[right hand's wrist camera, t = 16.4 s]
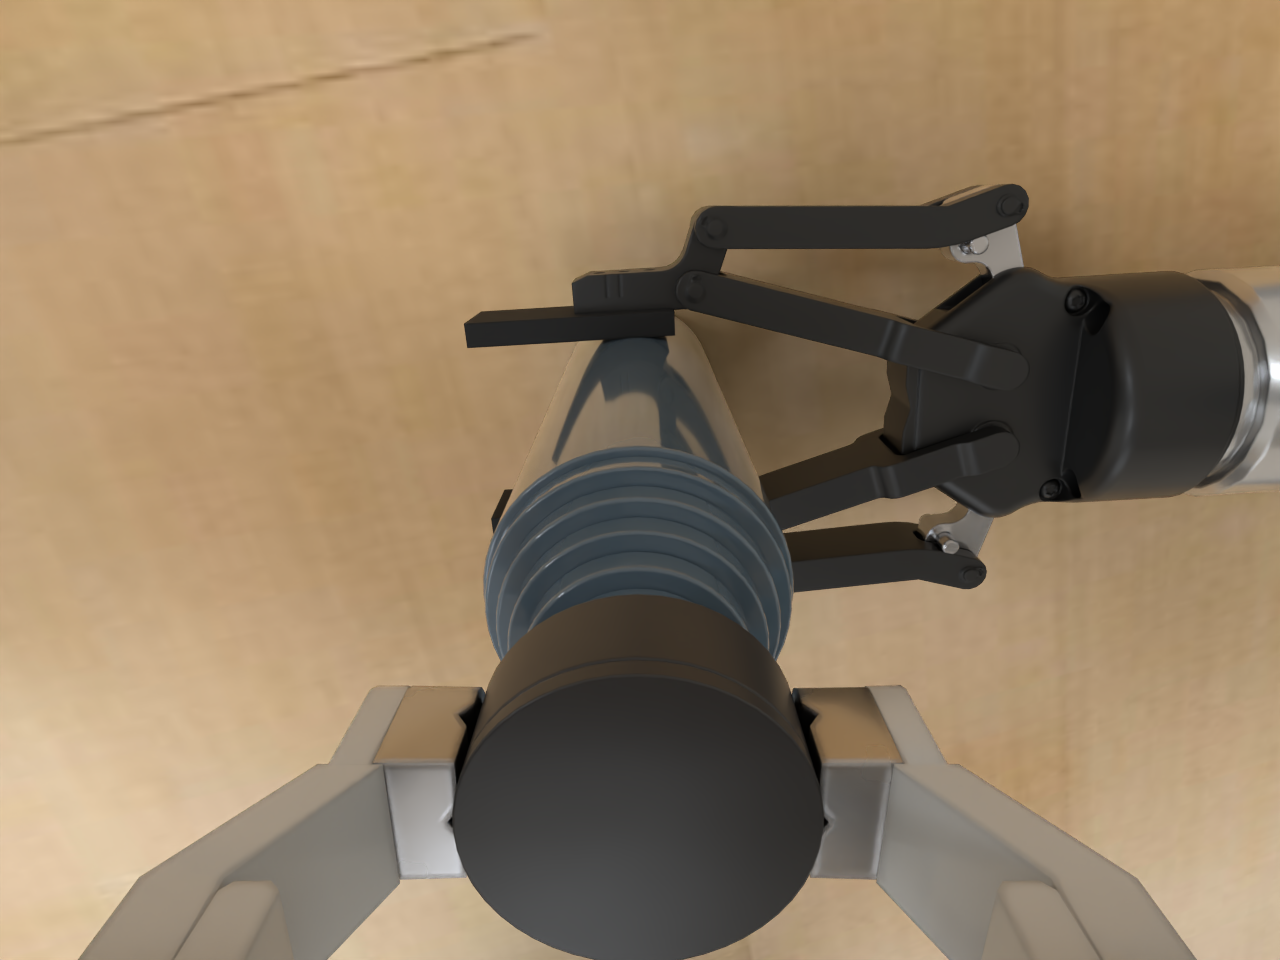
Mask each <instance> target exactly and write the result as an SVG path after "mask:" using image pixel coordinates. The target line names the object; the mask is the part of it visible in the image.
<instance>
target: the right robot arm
mask: <svg viewBox="0 0 1280 960" xmlns="http://www.w3.org/2000/svg"><path fill="white" fill-rule="evenodd" d="M484 697H485V692H484V690H483V688H482V687H446V686H412V687H410V686H376V687H374V688H372V689H371V690H370V691H369V692H368V694H367V696H366V697H365V699H364V701H363V703H362V705H361V706H360V708H359V710H358V712H357V714H356V715H355V717H354V719H353V721H352V722H351V724H350V726H349V728H348V730H347V731H346V733H345V735H344V737H343V739H342V740H341V742H340V744H339V746H338V748H337V749H336V751H335V753H334V755H333V757H332V758H331V760H330V762H329V764H317V765H315V766H314V767H312V768H311V769H309V770H307V771H306V772H304V773H303V774H301V775H300V776H298V777H296V778H295V779H293V780H292V781H290V782H289V783H287V784H285V785H284V786H282V787H281V788H279V789H278V790H276V791H274V792H273V793H271V794H270V795H268V796H267V797H265V798H263V799H262V800H260V801H259V802H257V803H256V804H254V805H252V806H251V807H249V808H248V809H246V810H245V811H243V812H241V813H240V814H238V815H237V816H235V817H233V818H232V819H230V820H229V821H227V822H226V823H224V824H222V825H221V826H219V827H218V828H216V829H215V830H213V831H211V832H210V833H208V834H207V835H205V836H204V837H202V838H200V839H199V840H197V841H196V842H194V843H193V844H191V845H189V846H188V847H186V848H185V849H183V850H182V851H180V852H178V853H177V854H175V855H174V856H172V857H170V858H169V859H167V860H166V861H164V862H163V863H161V864H159V865H158V866H156V867H155V868H153V869H152V870H150V871H148V872H147V873H145V874H144V875H142V876H141V877H139V878H138V880H137V881H136V882H135V884H134V885H133V886H132V888H131V889H130V890H129V892H128V893H127V894H126V896H125V897H124V898H123V900H122V901H121V902H120V904H119V905H118V907H117V908H116V909H115V911H114V912H113V913H112V915H111V916H110V917H109V919H108V920H107V921H106V923H105V924H104V925H103V927H102V928H101V929H100V931H99V932H98V933H97V935H96V936H95V937H94V939H93V940H92V941H91V943H90V944H89V945H88V947H87V948H86V949H85V951H84V952H83V954H82V955H81V956H80V958H79V959H78V960H327V959H328V958H329V957H330V956H331V955H332V954H333V953H334V952H335V951H336V950H337V949H338V948H339V947H340V946H341V945H342V944H343V943H344V941H345V940H346V939H347V938H348V937H349V936H350V935H351V934H352V933H353V932H354V931H355V930H356V929H357V928H358V927H359V926H360V925H361V924H362V923H363V922H364V920H365V919H366V918H367V917H368V916H369V915H370V914H371V913H372V912H373V911H374V910H375V909H376V908H377V907H378V906H379V905H380V904H381V903H382V902H383V901H384V899H385V898H386V897H387V896H388V895H389V894H390V893H391V892H392V891H393V890H394V889H395V888H396V887H397V886H398V885H399V884H400V881H399V879H433V878H466V877H467V874H466V872H465V870H464V868H463V866H462V863H461V860H460V858H459V855H458V852H457V849H456V844H455V839H454V834H453V822H452V809H453V802H454V795H455V790H456V787H457V784H458V781H459V777H460V774H461V771H462V768H463V765H464V761H465V758H466V755H467V752H468V749H469V745H470V742H471V739H472V736H473V733H474V729H475V726H476V723H477V720H478V717H479V713H480V710H481V707H482V704H483V701H484ZM792 698H793V701H794V704H795V707H796V711H797V714H798V717H799V720H800V724H801V727H802V730H803V734H804V737H805V740H806V743H807V747H808V750H809V753H810V756H811V760H812V763H813V766H814V770H815V773H816V776H817V779H818V783H819V786H820V789H821V793H822V800H823V807H824V830H823V836H822V841H821V846H820V850H819V853H818V856H817V859H816V861H815V864H814V867H813V869H812V871H811V873H810V878H842V879H877V882H876V883H877V884H878V885H879V886H880V887H881V888H882V889H883V890H884V891H885V892H886V893H887V894H888V895H889V897H890V898H891V899H892V900H893V901H894V902H895V903H896V904H897V905H898V906H899V907H900V908H901V909H902V910H903V911H904V912H905V913H906V915H907V916H908V917H909V918H910V919H911V920H912V921H913V922H914V923H915V924H916V925H917V926H918V927H919V928H920V929H921V930H922V931H923V933H924V934H925V935H926V936H927V937H928V938H929V939H930V940H931V941H932V942H933V943H934V944H935V945H936V946H937V947H938V948H939V949H940V951H941V952H942V953H943V954H944V955H945V956H946V957H947V958H948V959H949V960H1197V959H1196V958H1195V957H1194V955H1193V954H1192V952H1191V951H1190V950H1189V948H1188V947H1187V946H1186V944H1185V943H1184V942H1183V940H1182V939H1181V937H1180V936H1179V935H1178V933H1177V932H1176V931H1175V929H1174V928H1173V926H1172V925H1171V924H1170V922H1169V921H1168V920H1167V918H1166V917H1165V916H1164V914H1163V913H1162V911H1161V910H1160V909H1159V907H1158V906H1157V905H1156V903H1155V902H1154V901H1153V899H1152V898H1151V896H1150V895H1149V894H1148V892H1147V891H1146V890H1145V888H1144V887H1143V886H1142V884H1141V883H1140V881H1139V880H1138V879H1137V878H1136V877H1134V876H1133V875H1131V874H1129V873H1128V872H1126V871H1125V870H1123V869H1122V868H1120V867H1119V866H1117V865H1115V864H1114V863H1112V862H1111V861H1109V860H1108V859H1106V858H1104V857H1103V856H1101V855H1100V854H1098V853H1097V852H1095V851H1094V850H1092V849H1090V848H1089V847H1087V846H1086V845H1084V844H1083V843H1081V842H1079V841H1078V840H1076V839H1075V838H1073V837H1072V836H1070V835H1069V834H1067V833H1065V832H1064V831H1062V830H1061V829H1059V828H1058V827H1056V826H1054V825H1053V824H1051V823H1050V822H1048V821H1047V820H1045V819H1044V818H1042V817H1040V816H1039V815H1037V814H1036V813H1034V812H1033V811H1031V810H1029V809H1028V808H1026V807H1025V806H1023V805H1022V804H1020V803H1019V802H1017V801H1015V800H1014V799H1012V798H1011V797H1009V796H1008V795H1006V794H1004V793H1003V792H1001V791H1000V790H998V789H997V788H995V787H994V786H992V785H990V784H989V783H987V782H986V781H984V780H983V779H981V778H980V777H978V776H976V775H975V774H973V773H972V772H970V771H969V770H967V769H965V768H964V767H962V766H961V765H959V764H948V763H947V762H946V760H945V758H944V756H943V754H942V753H941V751H940V749H939V747H938V745H937V744H936V742H935V740H934V738H933V737H932V735H931V733H930V731H929V729H928V728H927V726H926V724H925V722H924V720H923V719H922V717H921V715H920V713H919V711H918V710H917V708H916V706H915V704H914V702H913V701H912V699H911V697H910V695H909V693H908V692H907V690H906V689H905V688H904V687H902V686H901V685H891V686H865V687H848V688H793V692H792Z"/></svg>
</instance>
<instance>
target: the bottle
mask: <svg viewBox="0 0 1280 960" xmlns="http://www.w3.org/2000/svg"><path fill="white" fill-rule="evenodd" d="M483 588H484V600H485V613H486V619H487V625H488V630H489V633H490V636H491V640H492V643H493V646H494V648H495V650H496V652H497V654H498V656H499V658H500V660H501V661H502V659H503V658H504V656H505V655H506V654H507V652H508V651H509V650H510V649H511V648H512V647H513V646H514V645H515V644H516V643H517V642H518V640H519V639H520V638H521V637H523V636H524V635H525V634H526V633H528V632H529V631H530V630H531V629H533V628H534V627H535V626H536V625H538V624H540V623H541V622H543V621H545V620H546V619H548V618H550V617H551V616H553V615H555V614H557V613H559V612H561V611H563V610H566V609H568V608H570V607H572V606H575V605H578V604H581V603H585V602H588V601H591V600H594V599H600V598H605V597H611V596H618V595H634V594H642V595H660V596H666V597H671V598H677V599H682V600H685V601H689V602H692V603H695V604H699V605H702V606H704V607H707V608H709V609H711V610H713V611H716V612H718V613H720V614H722V615H724V616H725V617H727V618H729V619H730V620H732V621H734V622H736V623H737V624H739V625H740V626H742V627H743V628H744V629H745V630H747V631H748V632H749V633H750V634H752V635H753V636H754V637H755V638H756V639H757V640H758V641H759V642H760V643H761V644H762V645H763V646H764V647H765V648H766V649H767V650H768V651H769V653H770V654H771V655H772V657H773V658H774V660H775V661H776V660H777V658H778V656H779V654H780V652H781V649H782V647H783V645H784V643H785V639H786V636H787V633H788V629H789V625H790V618H791V611H792V599H793V568H792V561H791V555H790V552H789V549H788V546H787V542H786V539H785V537H784V534H783V532H782V530H781V527H780V525H779V523H778V520H777V518H776V516H775V513H774V511H773V509H772V506H771V504H770V502H769V500H768V497H767V495H766V493H765V490H764V488H763V486H762V483H761V481H760V479H759V476H758V474H757V472H756V469H755V467H754V465H753V463H752V460H751V458H750V456H749V453H748V451H747V449H746V446H745V444H744V442H743V439H742V437H741V435H740V432H739V430H738V428H737V426H736V423H735V421H734V419H733V416H732V414H731V412H730V409H729V407H728V405H727V402H726V400H725V398H724V395H723V393H722V391H721V389H720V386H719V384H718V382H717V379H716V377H715V375H714V372H713V370H712V368H711V365H710V363H709V361H708V358H707V356H706V354H705V352H704V349H703V347H702V345H701V343H700V341H699V340H698V338H697V337H696V335H695V334H694V332H693V331H692V330H691V329H690V328H689V327H688V326H687V325H686V324H685V323H684V322H683V321H681V320H680V319H678V318H677V317H675V336H660V337H643V338H626V339H610V340H593V341H578V342H577V344H576V346H575V348H574V351H573V353H572V355H571V357H570V360H569V362H568V364H567V367H566V369H565V371H564V373H563V376H562V378H561V380H560V383H559V385H558V387H557V390H556V392H555V394H554V396H553V399H552V401H551V403H550V406H549V408H548V410H547V413H546V415H545V417H544V419H543V422H542V424H541V426H540V429H539V431H538V433H537V435H536V438H535V440H534V442H533V445H532V447H531V449H530V452H529V454H528V456H527V458H526V461H525V463H524V465H523V468H522V470H521V472H520V475H519V477H518V479H517V481H516V484H515V486H514V488H513V491H512V493H511V495H510V498H509V500H508V502H507V504H506V507H505V509H504V511H503V514H502V516H501V518H500V520H499V523H498V525H497V527H496V530H495V532H494V534H493V537H492V539H491V541H490V545H489V548H488V552H487V555H486V560H485V567H484V575H483Z"/></svg>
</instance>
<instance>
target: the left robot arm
mask: <svg viewBox="0 0 1280 960" xmlns="http://www.w3.org/2000/svg"><path fill="white" fill-rule="evenodd" d="M1028 207H1029V198H1028V195H1027V193H1026V191H1025V190H1024V189H1023V188H1022V187H1021V186H1019V185H1015V184H1001V185H1000V184H997V185H977V186H971V187H968V188H966V189H963V190H960V191H957V192H955V193H952V194H949V195H947V196H944V197H941V198H939V199H936V200H933V201H931V202H928V203H925V204H923V205H920V206H706V207H701V208H700V209H699V210H697V211H696V212H695V213H694V215H693V216H692V218H691V222H690V228H689V231H688V234H687V238H686V241H685V244H684V247H683V250H682V252H681V255H680V256H679V257H678V259H677V260H676V261H675V262H673V263H672V264H670V265H668V266H665V267H657V268H641V269H624V270H609V271H592V272H588V273H586V274H584V275H582V276H580V277H578V278H576V279H575V280H574V281H573V282H572V291H573V303H574V306H566V307H550V308H533V309H517V310H500V311H484V312H480V313H479V314H477V315H476V316H474V317H473V318H472V319H470V320H469V321H467V322H466V323H464V327H465V334H466V341H467V348H476V347H493V346H509V345H526V344H543V343H560V342H576V341H593V340H610V339H626V338H643V337H660V336H675V316H674V310H678V309H689V310H691V311H695V312H699V313H703V314H707V315H712V316H716V317H720V318H724V319H728V320H732V321H736V322H740V323H744V324H748V325H752V326H756V327H760V328H764V329H768V330H772V331H776V332H780V333H784V334H788V335H792V336H796V337H800V338H804V339H808V340H812V341H817V342H821V343H825V344H829V345H833V346H837V347H841V348H845V349H849V350H853V351H857V352H861V353H865V354H869V355H873V356H877V357H880V358H883V359H885V360H887V376H888V380H889V385H890V389H891V397H890V400H889V404H888V407H887V410H886V413H885V416H884V428H882V429H879V430H876V431H873V432H871V433H868V434H865V435H863V436H860V437H859V438H857V439H856V441H855V442H854V443H853V444H851V445H848V446H846V447H843V448H840V449H837V450H834V451H831V452H828V453H825V454H822V455H819V456H816V457H814V458H811V459H808V460H805V461H802V462H799V463H796V464H793V465H790V466H787V467H785V468H782V469H779V470H776V471H773V472H770V473H767V474H764V475H761V476H759V479H760V481H761V483H762V486H763V488H764V490H765V493H766V495H767V497H768V500H769V502H770V504H771V506H772V509H773V511H774V513H775V516H776V518H777V520H778V523H779V525H780V527H781V530H784V529H787V528H790V527H793V526H796V525H799V524H802V523H805V522H808V521H811V520H814V519H817V518H820V517H823V516H826V515H829V514H832V513H835V512H838V511H841V510H844V509H847V508H850V507H853V506H856V505H859V504H862V503H865V502H868V501H871V500H874V499H877V498H890V499H894V498H901V497H904V496H907V495H910V494H913V493H916V492H919V491H922V490H925V489H928V488H931V487H935V488H937V489H938V490H940V491H941V492H943V493H944V494H946V495H947V496H949V497H950V498H952V499H954V500H955V501H957V502H958V503H957V504H956V506H955V507H954V508H953V509H952V510H950V511H949V512H946V513H943V514H925V515H923V516H921V518H920V519H919V524H915V523H909V522H884V523H874V524H865V525H856V526H847V527H837V528H828V529H819V530H809V531H800V532H791V533H783V534H784V537H785V539H786V542H787V546H788V549H789V552H790V555H791V561H792V568H793V592H802V591H811V590H821V589H831V588H840V587H850V586H859V585H869V584H878V583H888V582H898V581H907V580H917V579H920V580H924V581H929V582H933V583H938V584H943V585H947V586H952V587H957V588H961V589H971V588H975V587H977V586H978V585H980V584H981V583H982V582H983V580H984V579H985V577H986V573H987V571H986V567H985V565H984V564H983V563H982V562H981V561H980V560H979V558H978V557H977V556H978V553H979V551H980V549H981V547H982V544H983V542H984V540H985V537H986V535H987V533H988V530H989V528H990V526H991V523H992V521H993V519H994V518H997V517H1002V516H1006V515H1009V514H1011V513H1013V512H1015V511H1016V510H1018V509H1020V508H1022V507H1024V506H1027V505H1030V504H1033V503H1036V502H1094V501H1111V500H1128V499H1146V498H1163V497H1172V496H1176V495H1180V494H1182V493H1183V494H1187V495H1192V496H1208V495H1224V494H1239V493H1255V492H1271V491H1280V266H1262V267H1242V268H1223V269H1203V270H1194V271H1191V272H1189V273H1186V274H1183V273H1179V272H1174V271H1160V272H1144V273H1128V274H1111V275H1095V276H1079V277H1062V278H1051V277H1048V276H1046V275H1044V274H1043V273H1041V272H1039V271H1037V270H1035V269H1033V268H1029V267H1024V265H1023V259H1022V254H1021V248H1020V243H1019V237H1018V232H1017V226H1016V223H1018V222H1020V220H1021V219H1022V218H1023V217H1024V216H1025V214H1026V212H1027V209H1028ZM928 248H940V251H941V253H942V255H943V256H944V257H945V258H947V259H948V260H951V261H956V262H961V263H974V264H975V265H976V266H977V267H978V269H979V271H980V274H979V275H978V276H977V277H975V278H974V279H973V280H971V281H970V282H969V283H967V284H966V285H965V286H963V287H962V288H961V289H960V290H958V291H957V292H956V293H954V294H953V295H952V296H950V297H949V298H948V299H946V300H945V301H944V302H942V303H941V304H940V305H938V306H937V307H936V308H934V309H933V310H932V311H930V312H929V313H928V314H926V315H925V316H924V317H922V318H921V319H920V320H915V319H911V318H907V317H903V316H899V315H895V314H891V313H887V312H883V311H879V310H874V309H868V308H864V307H860V306H856V305H852V304H848V303H844V302H840V301H836V300H832V299H828V298H824V297H820V296H816V295H812V294H808V293H804V292H800V291H796V290H792V289H789V288H785V287H781V286H777V285H773V284H769V283H765V282H761V281H757V280H753V279H749V278H745V277H741V276H737V275H733V274H729V273H725V272H721V271H720V270H721V267H722V263H723V260H724V257H725V254H726V251H727V249H928ZM512 491H513V489H510V490H504V492H503V494H502V497H501V499H500V501H499V503H498V505H497V507H496V510H495V512H494V514H493V516H492V518H491V520H492V527H493V534H494V532H495V530H496V527H497V525H498V523H499V520H500V518H501V516H502V514H503V511H504V509H505V507H506V504H507V502H508V500H509V498H510V495H511V493H512Z"/></svg>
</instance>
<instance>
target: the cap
mask: <svg viewBox="0 0 1280 960" xmlns="http://www.w3.org/2000/svg"><path fill="white" fill-rule="evenodd" d="M452 822H453V834H454V839H455V844H456V849H457V852H458V855H459V858H460V860H461V863H462V866H463V868H464V870H465V872H466V874H467V875H468V877H469V879H470V881H471V883H472V884H473V886H474V887H475V889H476V890H477V891H478V892H479V894H480V895H481V896H482V898H483V899H484V900H485V901H486V902H487V903H488V904H489V905H490V906H491V907H492V908H493V909H494V910H495V911H496V912H497V913H498V914H499V915H500V916H501V917H502V918H504V919H505V920H506V921H508V922H509V923H510V924H511V925H513V926H514V927H515V928H517V929H519V930H520V931H522V932H524V933H525V934H527V935H529V936H530V937H532V938H534V939H536V940H538V941H540V942H542V943H544V944H546V945H549V946H551V947H553V948H556V949H559V950H562V951H565V952H567V953H570V954H573V955H577V956H582V957H586V958H590V959H594V960H683V959H687V958H691V957H695V956H699V955H703V954H707V953H709V952H712V951H715V950H718V949H721V948H724V947H726V946H728V945H730V944H732V943H735V942H737V941H739V940H741V939H743V938H745V937H747V936H748V935H750V934H751V933H753V932H755V931H756V930H758V929H760V928H761V927H763V926H764V925H765V924H766V923H768V922H769V921H770V920H772V919H773V918H774V917H775V916H777V915H778V914H779V913H780V912H781V911H782V910H783V909H784V908H785V907H786V906H787V905H788V904H789V903H790V902H791V901H792V900H793V898H794V897H795V896H796V894H797V893H798V892H799V890H800V889H801V888H802V886H803V885H804V884H805V882H806V880H807V878H808V876H809V874H810V873H811V871H812V869H813V867H814V864H815V861H816V859H817V856H818V853H819V850H820V846H821V841H822V836H823V830H824V807H823V800H822V793H821V789H820V786H819V783H818V779H817V776H816V773H815V770H814V766H813V763H812V760H811V756H810V753H809V750H808V747H807V743H806V740H805V737H804V734H803V730H802V727H801V724H800V720H799V717H798V714H797V711H796V707H795V704H794V701H793V698H792V695H791V692H790V688H789V685H788V682H787V680H786V678H785V676H784V674H783V673H782V671H781V669H780V667H779V665H778V664H777V662H776V661H775V660H774V658H773V657H772V655H771V654H770V653H769V651H768V650H767V649H766V648H765V647H764V646H763V645H762V644H761V643H760V642H759V641H758V640H757V639H756V638H755V637H754V636H753V635H752V634H750V633H749V632H748V631H747V630H745V629H744V628H743V627H742V626H740V625H739V624H737V623H736V622H734V621H732V620H730V619H729V618H727V617H725V616H724V615H722V614H720V613H718V612H716V611H713V610H711V609H709V608H707V607H704V606H702V605H699V604H695V603H692V602H689V601H685V600H682V599H677V598H671V597H666V596H660V595H642V594H634V595H618V596H611V597H605V598H600V599H594V600H591V601H588V602H585V603H581V604H578V605H575V606H572V607H570V608H568V609H566V610H563V611H561V612H559V613H557V614H555V615H553V616H551V617H550V618H548V619H546V620H545V621H543V622H541V623H540V624H538V625H536V626H535V627H534V628H533V629H531V630H530V631H529V632H528V633H526V634H525V635H524V636H523V637H521V638H520V639H519V640H518V642H517V643H516V644H515V645H514V646H513V647H512V648H511V649H510V650H509V651H508V652H507V654H506V655H505V656H504V658H503V659H502V661H501V662H500V664H499V665H498V666H497V668H496V670H495V672H494V674H493V676H492V678H491V680H490V682H489V685H488V688H487V691H486V694H485V697H484V701H483V704H482V707H481V710H480V713H479V717H478V720H477V723H476V726H475V729H474V733H473V736H472V739H471V742H470V745H469V749H468V752H467V755H466V758H465V761H464V765H463V768H462V771H461V774H460V777H459V781H458V784H457V787H456V790H455V795H454V802H453V809H452Z"/></svg>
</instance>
